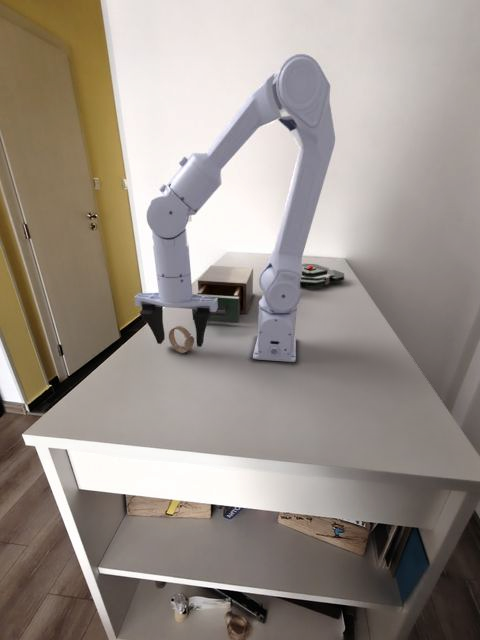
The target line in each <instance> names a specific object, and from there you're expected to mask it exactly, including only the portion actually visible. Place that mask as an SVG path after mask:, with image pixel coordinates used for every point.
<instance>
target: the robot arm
mask: <svg viewBox="0 0 480 640" xmlns="http://www.w3.org/2000/svg"><path fill="white" fill-rule="evenodd" d="M330 98H331V84H330V82H329V80H328V78H327V76H326V75H325V73H324V71H323V69H322V67H321V65H320V64H319V63H318V61H317V59H315V58H314V57H312V56H311V55H308V54H305V53H298V54H294V55H291V56H289V58H287V59H285V61H284V62H283V63H282V65H281V67H280V68H279V70H278V73H277V74H275V73H272V74H271V75H270V76H269V77H268V78H266V80H265V81H263V82H262V84H260V85H259V87H257V88H256V89H255V90H254V91H253V92H252V93H251V94H250V95H249V96H248V98H246V100H245V101H244V103H243V104H242V105H241V107H240V108H239V109H238V110H237V111H236V113H235V114H234V116H233V117H232V118H231V120H230V121H229V122H228V124H227V125H226V126H225V127H224V129H223V130H222V131H221V132H220V134H219V135H218V136H217V137H216V139H215V141H213V142H212V144H211V146H210V147H209V148H208V149H207V151H205V152H203V153H201V152H193V153H191V154H190V155H189V157H188V158H187V156H183V157H182V158H181V159H180V160H179V162H178V164H179V166H180V168H179V169H178V170H177V172H176V173H175V174H174V176H173V177H172V178H171V179H170V181H169V182H168V183H167V184H162V185H161V186H160V187H159V191H160V192H161V193H162V196H157V197H154V198H153V199H152V200H151V201H150V204H149V206H148V208H147V210H146V222H147V225H148V227H149V228H150V230H151V233H152V235H151V238H152V240H153V242H152V243H153V246H152V249H153V257H154V258H153V259H154V264H155V273H156V281H157V282H156V283H157V288H158V292H138V293H137V294H136V295H134V303H135V307H137V308H141V310H140V311H139V315H140V317H141V318H142V319H143V320H144V322H146V324H147V325H148V327H149V329H150V330H151V332H152V334H153V336H154V338H155V341H156V343H157V344H158V345H161V344H162V343H163V342H164V341H165V336H166V334H165V328H164V317H163V316H164V314H163V313H164V311H163V310H164V308H172V309H187V310H192V309H197V311H196V312H195V314H194V315H192V320H193V319H194V320H193V322H194V327H195V335H196V337H195V338H196V342H195V343H196V347H197V348H201V347H202V346H203V345H204V340H205V334H206V333H205V332H206V329H207V325H208V323H209V321H208V320H209V317H210V315H211V313H212V312H216V310H217V308H218V298H211V297H206V296H201V295H196V294H197V293H193V285H192V284H193V283H192V272H191V271H192V270H191V269H192V268H191V257H190V256H191V255H190V246H189V244H188V237H187V236H188V235H187V229H186V227H187V224H188V223H189V219H190V216H195V215H196V214H197V213H198V212H200V210H201V209H202V208H203V207H204V205H205V204H206V203H207V202H208V200H210V198H211V197H212V196H213V195H214V194H215V192H216V191H217V190H218V189H219V188H220V187H221V185H222V181H223V180H222V169H223V168H224V167H225V166H226V165H227V163H229V161H230V160H231V159H232V158H233V157H234V156H235V155H236V153H237V152H239V150H240V149H241V148H242V147H243V146H244V145H245V144H246V143H247V141H248V140H249V139H250V138H251V137H252V136H253V135H254V133H256V131H257V130H258V129H261V128H263V127H267V126H270V125H272V124H274V123H276V122H277V121H279V123H281V124H282V126H284V127H285V128H286V129H287V130H288V132H289V133H290V135H291V137H292V138H293V140H294V142H295V144H296V146H297V148H298V153H297V156H296V161H295V165H294V169H293V173H292V177H291V180H290V184H289V189H288V192H287V197H286V200H285V205H284V209H283V211H282V212H283V213H282V217H281V220H280V224H279V229H278V233H277V237H276V241H275V245H274V249H273V250H272V252H271V254H270V255H269V258H268V262H267V264H266V266H265V268H263V270H262V271H261V272H260V275H259V277H258V283H259V284H258V285H259V288H260V290H261V291H262V293H263V295H262V297H261V298H260V299H259V301H258V318H257V319H258V321H257V322H258V323H257V324H258V325H257V337H256V342H255V346H254V349H253V353H252V359H253V360H260V361H261V360H262V361H272V362H273V361H275V362H287V363H295V362H296V359H297V357H296V356H297V355H296V354H297V352H296V351H297V338H296V325H297V314H298V305H299V304H300V301H301V298H302V289H301V285H300V280H301V277H302V264H303V263H302V258H303V256H304V252H305V249H306V246H307V241H308V238H309V234H310V232H311V227H312V225H313V221H314V218H315V214H316V211H317V208H318V203H319V200H320V196H321V194H322V189H323V186H324V183H325V179H326V177H327V176H326V175H327V172H328V169H329V166H330V163H331V159H332V155H333V152H334V148H335V145H336V135H335V134H336V133H335V126H334V121H333V114H332V113H333V112H332V108H331V101H330Z"/></svg>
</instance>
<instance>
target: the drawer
mask: <svg viewBox="0 0 480 640" xmlns="http://www.w3.org/2000/svg"><path fill="white" fill-rule="evenodd" d="M195 294H196V295H201V296H206V297H211V298H218V308H217V310H216V312H212V313H211V315H210V317H209V320H208V322H213V323H214V322H216V323H230V324H239V323H240V313H239V312H240V309H241V307H242V304H243V286H228V285H211V284H204V285H203V286H202V288H201V289H200V290H199V292H198V291H197V293H195ZM196 311H197V309H191V312H192V313H191V314H192V316H193V315H194V314H195V312H196ZM192 321H194V319H193V318H192Z"/></svg>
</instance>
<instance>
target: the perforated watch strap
mask: <svg viewBox="0 0 480 640" xmlns="http://www.w3.org/2000/svg"><path fill="white" fill-rule="evenodd" d="M176 330H178V331H180V332H181V333H182V334H183V336H184V338H185V339H184V341H183V348H182V347H181V346H180V344H178V342H177V341H176V337H175V331H176ZM168 340H169V343H170V345H171V346H172V348H173V349H174V350H175V351H176V352H178V353H181V354H183V353H186V352H188V351H190V350H191V349H192V348H193V346H194V343H195V339H194V337H193V336H192V333H191V332H190V331H189V330H188V329H187V328H186V327H184V326H181V325H177V326H175V327H173V328H171V329H170V330H169V333H168Z"/></svg>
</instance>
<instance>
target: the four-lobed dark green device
mask: <svg viewBox="0 0 480 640" xmlns="http://www.w3.org/2000/svg"><path fill="white" fill-rule="evenodd" d="M344 280H345V273H344V272H342V271H339V270H336V269H330V268H329V267H328V266H323V265H320V264H317V263H302V277H301V280H300V287H308V288H309V287H310V288H318V287H321V286H325V285H329V284H330V283H339V282H342V281H344Z"/></svg>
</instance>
